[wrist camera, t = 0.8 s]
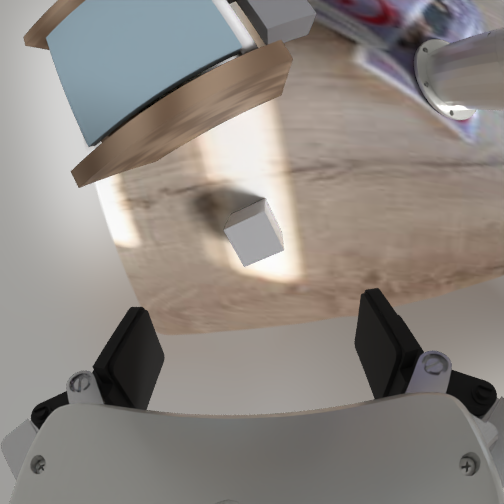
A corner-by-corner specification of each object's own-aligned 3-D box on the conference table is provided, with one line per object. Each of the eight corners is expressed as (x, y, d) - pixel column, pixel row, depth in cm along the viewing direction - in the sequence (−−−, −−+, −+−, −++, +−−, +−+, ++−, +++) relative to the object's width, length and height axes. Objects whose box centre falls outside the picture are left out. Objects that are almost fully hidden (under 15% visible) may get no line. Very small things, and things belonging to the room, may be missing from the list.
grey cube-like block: (265, 198, 34) (264, 211, 29) (281, 231, 36) (284, 250, 30) (230, 214, 35) (223, 229, 30) (247, 246, 37) (244, 266, 31)
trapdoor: (242, -50, 13) (235, -81, 7) (315, 46, 18) (329, 22, 13) (79, 44, 18) (44, 35, 12) (125, 144, 23) (89, 150, 17)
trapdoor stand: (214, -11, 22) (180, -79, 7) (281, 95, 28) (292, 58, 13) (103, 57, 26) (23, 36, 11) (155, 161, 33) (78, 187, 18)
